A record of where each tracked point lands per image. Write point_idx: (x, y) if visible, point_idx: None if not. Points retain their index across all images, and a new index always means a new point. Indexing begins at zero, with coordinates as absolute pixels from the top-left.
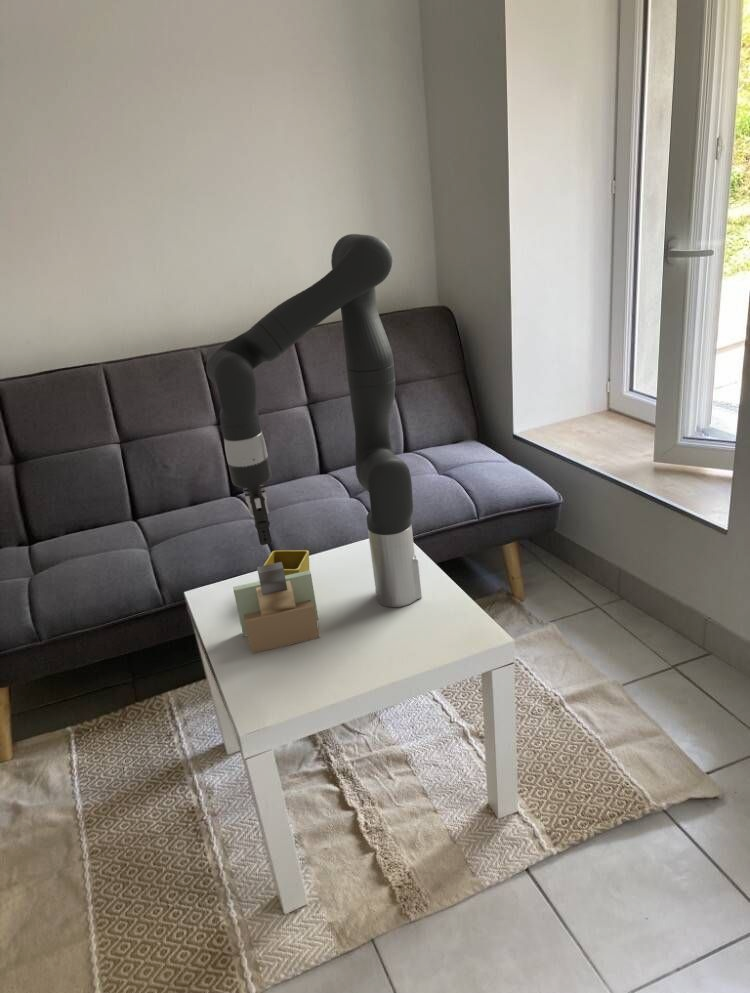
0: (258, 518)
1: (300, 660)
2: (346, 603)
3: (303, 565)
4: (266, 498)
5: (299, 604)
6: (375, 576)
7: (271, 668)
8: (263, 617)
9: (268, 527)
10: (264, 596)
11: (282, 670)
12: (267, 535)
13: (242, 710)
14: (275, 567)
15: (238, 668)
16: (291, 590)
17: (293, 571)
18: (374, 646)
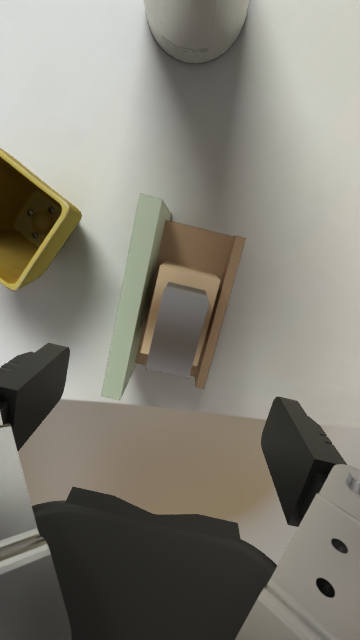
0: (43, 399)
1: (277, 298)
2: (149, 133)
3: (36, 178)
4: (270, 592)
5: (169, 249)
6: (195, 14)
7: (264, 347)
8: (212, 351)
9: (333, 456)
10: (198, 350)
11: (282, 334)
12: (330, 447)
13: (334, 418)
14: (187, 322)
15: (228, 390)
16: (215, 282)
17: (65, 219)
18: (333, 159)
